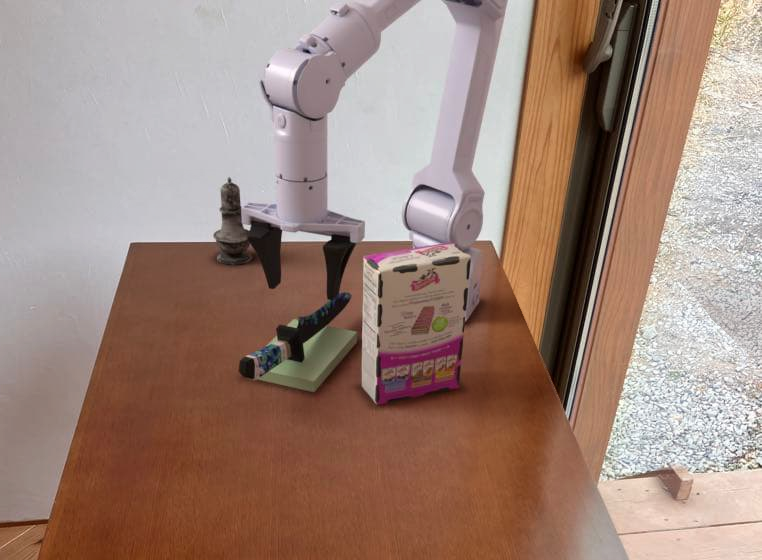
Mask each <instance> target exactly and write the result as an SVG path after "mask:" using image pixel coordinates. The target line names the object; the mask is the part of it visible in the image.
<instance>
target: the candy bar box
mask: <svg viewBox="0 0 762 560" xmlns="http://www.w3.org/2000/svg"><path fill="white" fill-rule="evenodd" d="M362 258H363V259H362V323H361V324H362V326H361V329H362V330H361V331H362V332H361V341H362V342H361V388H362V389H363V391H364V393H366V394H367V395H368V396H369V398H370V399H371V400H372V401H373V403H374V404H375V405H376V406H382V405H386V404H390V403H395V402H400V401H406V400H409V399H414V398H419V397H423V396H427V395H428V396H429V395H433V394H436V393H441V392H446V391H450V390H451V391H452V390H455V389H459V388H460V382H461V381H460V380H461V371H462V370H461V369H462V359H463V348H464V337H465V325H466V322H465V317H466V306H467V296H468V284H469V275H470V263H471V256H470V255H469V254H467V253H466V252H464V251H463V250H462V249H460V248H459V247H456V244H454V243H452V242H449V243H443V244H437V245H430V246H423V247H417V248H413V247H411V248H405V249H399V250H398V249H397V250H393V251H386V252H381V253H374V254H368V255H363V256H362Z"/></svg>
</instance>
